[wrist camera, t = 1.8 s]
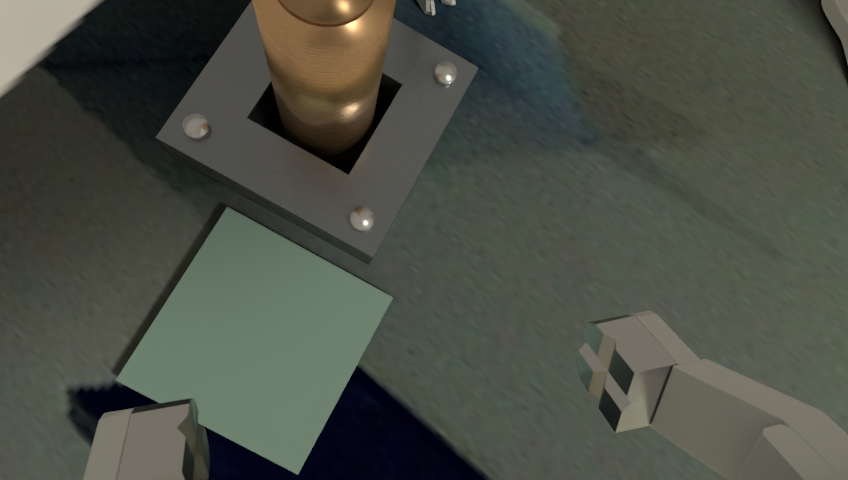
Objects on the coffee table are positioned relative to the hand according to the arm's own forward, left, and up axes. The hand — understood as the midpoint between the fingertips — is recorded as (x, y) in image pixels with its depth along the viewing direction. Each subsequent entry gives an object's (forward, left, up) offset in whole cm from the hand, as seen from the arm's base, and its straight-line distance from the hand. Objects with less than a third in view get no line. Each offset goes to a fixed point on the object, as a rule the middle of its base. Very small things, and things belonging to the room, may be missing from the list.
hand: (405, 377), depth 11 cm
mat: (+2, -5, -19) cm, 19 cm away
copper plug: (-10, -8, -19) cm, 23 cm away
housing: (-10, -8, -19) cm, 23 cm away
